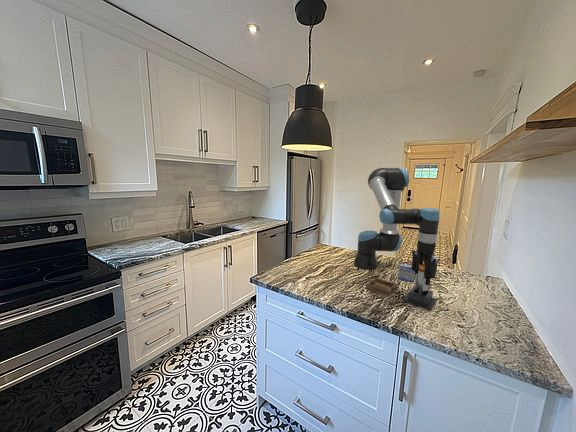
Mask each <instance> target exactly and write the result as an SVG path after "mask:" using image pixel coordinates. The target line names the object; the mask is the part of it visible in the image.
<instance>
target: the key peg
mask: <svg viewBox="0 0 576 432" xmlns="http://www.w3.org/2000/svg"><path fill="white" fill-rule="evenodd" d="M424 277H425V264H424V262H423V263H421V264H419V269H418V277H417V286H416V293H419V294H422V295H425V291H422V288H423V280H424Z"/></svg>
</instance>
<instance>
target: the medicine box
mask: <svg viewBox="0 0 576 432" xmlns="http://www.w3.org/2000/svg"><path fill="white" fill-rule="evenodd" d="M414 268H415V267H414ZM414 276H415V272H414V271H413V270H412V264H410V265H409V264H404V263H399V268H398V276H397V277H398V278H397V280H399V281H405V282H409V283H413V282H414Z"/></svg>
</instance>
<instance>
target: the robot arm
mask: <svg viewBox="0 0 576 432" xmlns="http://www.w3.org/2000/svg"><path fill="white" fill-rule="evenodd" d="M409 175H410V174H409V172H408V170H407V169H406V168H404V167H378V168H376V169H373V171H371V173H370V174H369V176H368V178H367V185H368V187H369V189H370V190H372V192H373V194H374V196H375V197H374V198H375V199H376V201H377V203H378V206H379V209H380V211H379V221H380V223H381V224H382V228H381V229H379V233H378V232H377V231H376V230H364V231H360V232H359V233H358V238H357V251H356V252H357V253H356V255H355V258H354V260H353V265H354V267H356V268H358V269H361V270H362V269H363V270H368V271H369V270H375V269H377V268H378V266H379V265H378V264H379V263H378V260H377V257H376V254H377V253H376V252H397V251H399V250H400V249H401V247H402V242H403V240H402V239H403V237H402V235H401V234H400V231H399V230H398V225H417V226H418V233H417V243H416V249H415V250H411V254H412V260H411V266H412V270H413V271H414V277H413V279H414V285H413V287H414V286H415V287H416V286H417V277H418V269H419V264H421V263H424V264H425V277H424V280H423V288H422V291H427V290H429V287H430V285H431V279H435V278H436V276H437V270H438V264H439V261H440V259H439V258H437V257H436V256H435V251H436V245H437V243H436V242H437V239H438V238H437V237H438V231H439V223H440V214H441V213H440V212H441V211H440V209H438V208H433V207H423V208H421V209H420V208H415V207H413V208H409V209H408V208H407V209H406V208H401V209H400V203H401V197H402V193H403V192H404V191H405V188H407V187H408V186H409V184H410V176H409ZM414 267H415V268H414Z"/></svg>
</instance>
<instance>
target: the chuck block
mask: <svg viewBox="0 0 576 432" xmlns="http://www.w3.org/2000/svg"><path fill="white" fill-rule="evenodd" d="M433 294H434V291H432V290H429V289H428V290H427V291H425V295H422V294H419V293H416V287H415V286H414V285H413V286H412V288H411V289H410V290H409V291H408V293H407V294H406V295H405V296H404V298H403V299H402V302H404V303H405V304H409V305H412V306H415V307H418V308H421V309H424V310H427V311H430V312H431V311H432V310H433V308H434V306H435V305H436V303H437V301H438V298H436V297H433V296H434V295H433Z"/></svg>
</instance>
